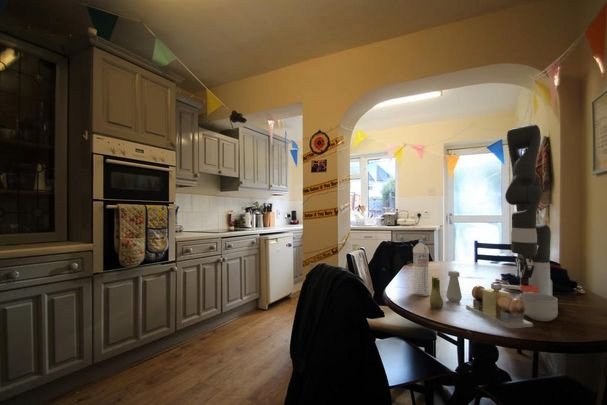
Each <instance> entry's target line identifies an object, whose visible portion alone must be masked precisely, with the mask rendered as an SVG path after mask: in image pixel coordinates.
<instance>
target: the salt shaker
mask: <svg viewBox="0 0 607 405" xmlns="http://www.w3.org/2000/svg"><path fill="white" fill-rule="evenodd" d="M447 275H448V276H449V280H448V285H447V290H446V295H445V296H446V298H447V301H448V302H449V303H452V304H459V303H460V302H461V300H462V298H463V296H462V295H463V294H462V290H461V286H460V281H459V278H460V276H461V275H460V272H459V271H457V270H453V269H452V270H449V271H448V272H447Z"/></svg>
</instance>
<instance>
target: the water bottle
mask: <svg viewBox="0 0 607 405" xmlns="http://www.w3.org/2000/svg"><path fill="white" fill-rule="evenodd" d="M423 242H424V239H418V243H416V244H415V246H414V247H412V253H413V254H412V257H413V258H412V273H413V274H412V290H413V291H412V293H413V294H414V295H415V296H419V297H428V296H429V294H430V279H429V278H430V266H429V262H430V261H429V260H430V258H429V257H430V256H429V253H430V250H429V248H428V246H427V245H426V244H424V243H423Z"/></svg>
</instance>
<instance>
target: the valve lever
mask: <svg viewBox="0 0 607 405" xmlns="http://www.w3.org/2000/svg"><path fill="white" fill-rule="evenodd" d="M490 289H495V290H502V289H509V290H519V291H521V292H522V293H523V292H535V293H538V287H537V286H535V285H523V284H520V283H519V285H514V284H513V285H511V284H501V283H497V282H496V283H494V282H493V283H490ZM502 291H503V290H502Z"/></svg>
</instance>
